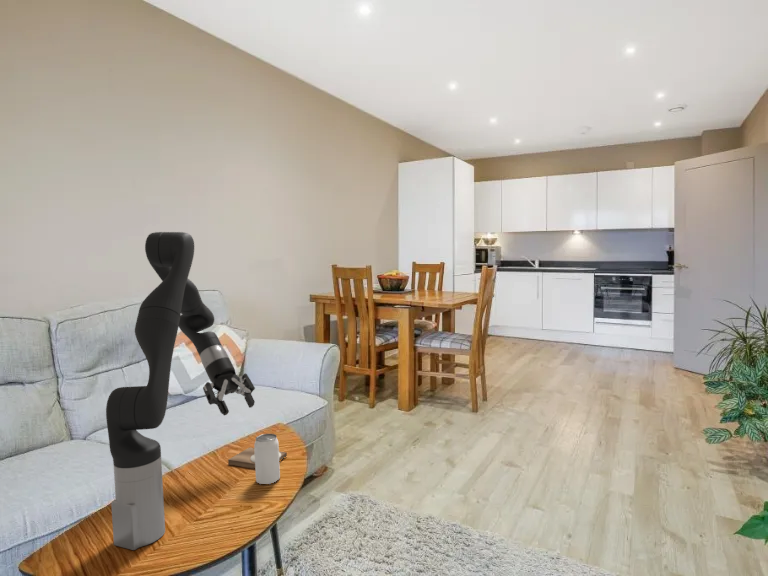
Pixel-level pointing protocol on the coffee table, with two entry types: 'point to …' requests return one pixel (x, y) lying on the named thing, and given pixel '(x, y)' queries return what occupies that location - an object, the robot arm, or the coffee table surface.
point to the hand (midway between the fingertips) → (239, 409)
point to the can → (267, 459)
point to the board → (248, 458)
